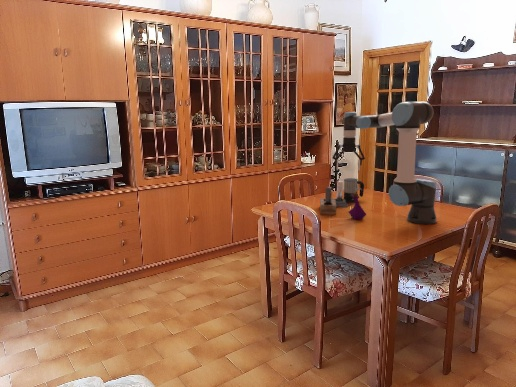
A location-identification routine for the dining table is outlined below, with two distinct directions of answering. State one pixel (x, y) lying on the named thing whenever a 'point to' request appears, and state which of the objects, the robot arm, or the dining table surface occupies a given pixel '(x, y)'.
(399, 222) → the dining table surface
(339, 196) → the steel peg
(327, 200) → the black peg
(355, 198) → the perfume bottle
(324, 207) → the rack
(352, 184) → the milk frother
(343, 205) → the socket block
